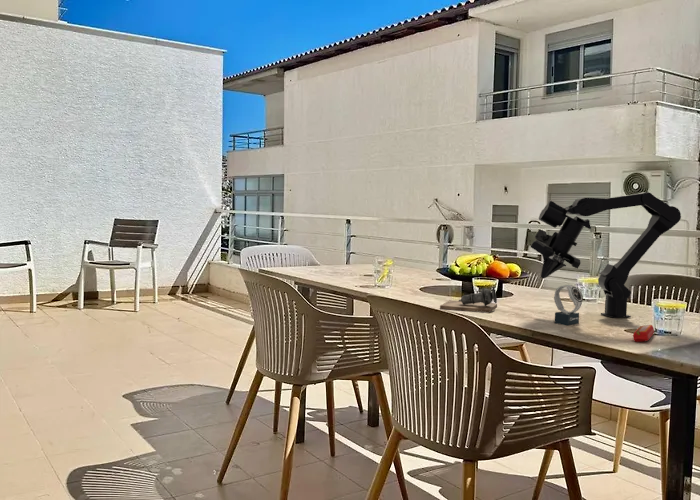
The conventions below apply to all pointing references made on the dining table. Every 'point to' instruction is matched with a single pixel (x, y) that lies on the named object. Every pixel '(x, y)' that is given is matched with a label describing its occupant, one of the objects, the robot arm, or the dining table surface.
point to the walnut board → (468, 306)
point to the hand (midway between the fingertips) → (542, 277)
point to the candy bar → (643, 333)
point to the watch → (563, 316)
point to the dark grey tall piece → (480, 297)
